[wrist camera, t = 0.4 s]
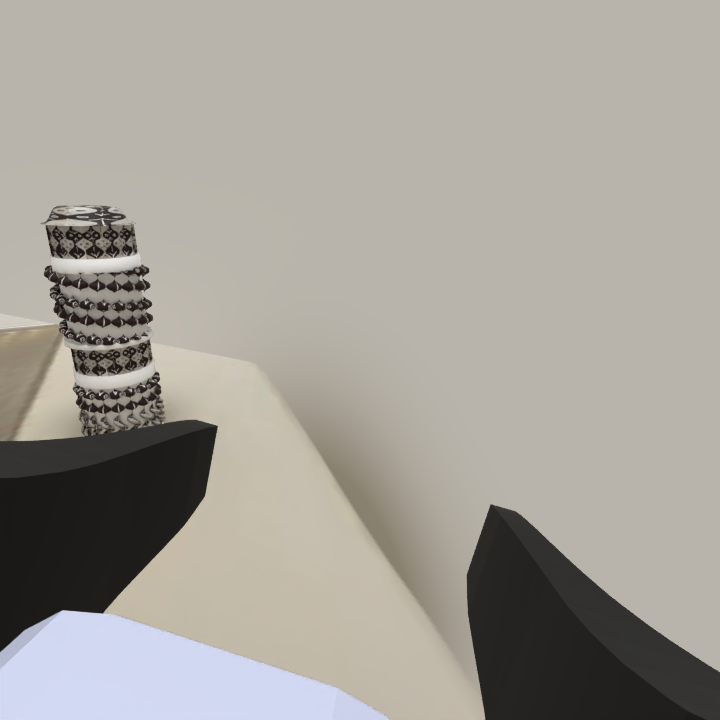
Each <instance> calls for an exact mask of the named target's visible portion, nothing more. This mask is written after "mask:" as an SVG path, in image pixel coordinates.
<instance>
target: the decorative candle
mask: <svg viewBox="0 0 720 720" xmlns="http://www.w3.org/2000/svg"><path fill="white" fill-rule="evenodd" d="M41 224H44V225H46V230H47V235H48V240H49V245H50V250H51V255H50V261H51V266H47V267H46V268H45V272H44V276H45V277H47V278H48V280H50V281H51V282H54V283H56V285H55V286H54V287H52V288H51V289H50V291H51V293H50V296H51V298H53V299H55V301H56V303H55V307H54V309H53V310H54V312H55V313H57V315H58V316H59V317H60V318H63V319H64V320H63V321H62V322H60V328H59V331H60V332H61V333H62V334H64V336H65V337H64V344H65V346H67V347H69V348H71V352H72V357H73V362H74V367H73V370H74V376H75V381H76V382H75V386H74V387H73V391H74V392H76V395H78V399H77V400H76V404H77V405H79V408H80V409H82V410H81V412H80V414H79V420H80V421H81V422H82V424H83V426H82V433H83V434H84V435H85V436H92V435H98V434H105V433H112V432H119V431H125V430H131V429H137V428H142V427H148V426H153V425H159V424H164V423H165V422H164V420H165V416H163V415H164V414H165V412H164V411H163V410H162V409H163V408H164V405H163V404H162V403H163V399H161V398H160V396H159V395H160V394H161V386H160V385H159V384H158V383H157V382H159V380H160V377H159V373H158V372H156V368H155V361H154V358H153V356H152V352H151V345H150V338H151V337H152V336H153V335H154V334H153V331H152V329H151V328H150V327H148V326H146V323H147V324H148V323H149V322H151V321H152V320H153V316H152V315H151V314H149V313H147V312H146V313H145V311H144V309H145V310H147V309H148V308H149V307H151V306H152V302H151V301H149V300H147V299H146V298H144V299H143V297H142V292H141V291H142V290H144V291H145V290H146V289H148V288H150V284H149V282H147V281H145V280H144V279H143V282H142V281H140V275H142V276H144V275H146V274H148V273H149V268H148V267H145V266H144V265H141V260H140V254H139V253H138V252H137V245H136V238H135V232H134V224H135V223H134V222H131V221H130V220H128V218H127V217H126V215H125V214H124V213H123V212H122V211H121V210H120V209H119V208H117V207H112V206H57V207H55V208H53V210H52V212H51V213H50V216H49V218H48V220H47V221H46V222H44V223H41ZM56 273H57V274H56ZM60 293H61V294H60ZM61 309H62V310H61Z"/></svg>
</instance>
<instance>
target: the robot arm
mask: <svg viewBox="0 0 720 720" xmlns="http://www.w3.org/2000/svg"><path fill="white" fill-rule="evenodd" d="M217 428H218V426H216V425H212V424H209V423H205V422H202V421H198V420H184V421H176V422H170V423H164V424H159V425H153V426H148V427H142V428H137V429H131V430H125V431H119V432H112V433H105V434H98V435H92V436H85V437H76V438H66V439H53V440H39V441H0V720H389V718H388V717H386V716H385V715H383V714H382V713H380V712H379V711H377V710H375V709H374V708H372V707H370V706H369V705H367V704H365V703H363V702H362V701H360V700H358V699H357V698H355V697H353V696H352V695H350V694H348V693H346V692H345V691H343V690H341V689H340V688H338V687H335V686H332V685H329V684H326V683H323V682H320V681H317V680H314V679H311V678H308V677H305V676H302V675H298V674H295V673H292V672H289V671H286V670H283V669H280V668H277V667H274V666H271V665H268V664H265V663H262V662H259V661H256V660H253V659H250V658H247V657H244V656H241V655H238V654H234V653H231V652H228V651H225V650H222V649H219V648H216V647H213V646H210V645H207V644H204V643H201V642H198V641H195V640H192V639H189V638H186V637H183V636H180V635H177V634H174V633H170V632H167V631H164V630H161V629H158V628H155V627H152V626H149V625H146V624H143V623H140V622H137V621H134V620H131V619H128V618H125V617H122V616H119V615H112V614H103V613H104V611H105V610H106V609H107V608H108V607H109V605H110V604H111V603H112V602H113V601H114V600H115V599H116V597H117V596H118V595H119V594H120V593H121V592H122V591H123V590H124V589H125V588H126V587H127V586H128V584H129V583H130V582H131V581H132V580H133V579H134V578H135V577H136V576H137V575H138V574H139V573H140V572H141V571H142V570H143V569H144V568H145V567H146V566H147V565H148V563H149V562H150V561H151V560H152V559H153V558H154V557H155V556H156V555H157V554H158V553H159V552H160V551H161V550H162V549H163V548H164V547H165V546H166V545H167V543H168V542H169V541H170V540H171V539H172V538H173V537H174V536H175V535H176V534H177V533H178V532H179V531H180V529H181V528H182V527H183V526H184V525H185V524H186V522H187V521H188V519H189V518H190V517H191V515H192V514H193V513H194V511H195V510H196V508H197V507H198V505H199V504H200V502H201V501H202V500H203V498H204V497H205V493H206V487H207V482H208V477H209V471H210V466H211V460H212V455H213V449H214V444H215V438H216V433H217ZM467 600H468V616H469V623H470V629H471V635H472V641H473V647H474V653H475V659H476V665H477V671H478V676H479V682H480V688H481V694H482V700H483V706H484V712H485V720H720V672H718V671H717V670H715V669H713V668H712V667H710V666H708V665H707V664H706V663H704V662H702V661H701V660H699V659H698V658H696V657H695V656H693V655H692V654H690V653H689V652H687V651H685V650H684V649H682V648H681V647H679V646H678V645H676V644H675V643H673V642H672V641H670V640H669V639H667V638H666V637H664V636H663V635H662V634H660V633H658V632H657V631H656V630H654V629H653V628H652V627H650V626H649V625H648V624H646V623H645V622H643V621H642V620H641V619H640V618H638V617H637V616H635V615H634V614H633V613H631V612H630V611H629V610H627V609H626V608H625V607H623V606H622V605H621V604H619V603H618V602H617V601H616V600H615V599H613V598H612V597H611V596H609V595H608V594H607V593H606V592H605V591H604V590H602V589H601V588H600V587H599V586H598V585H597V584H595V583H594V582H593V581H592V580H591V579H590V578H588V577H587V576H586V575H585V574H584V573H583V572H582V571H581V570H579V569H578V568H577V567H576V566H575V565H574V564H573V563H572V562H570V560H568V559H567V558H566V557H565V556H564V555H563V554H562V553H561V552H560V551H559V550H558V549H557V548H556V547H555V546H554V545H553V544H551V543H550V542H549V541H548V540H547V539H546V538H545V537H544V536H543V535H542V534H541V533H540V532H539V531H538V530H537V529H536V528H535V527H534V526H532V525H531V524H530V523H529V522H528V521H527V520H526V519H525V518H523V517H522V516H521V515H519V514H518V513H517V512H515V511H512V510H509V509H505V508H501V507H498V506H494V505H490V508H489V511H488V514H487V517H486V520H485V523H484V526H483V529H482V532H481V535H480V537H479V540H478V543H477V546H476V550H475V552H474V555H473V558H472V561H471V564H470V567H469V570H468V573H467Z"/></svg>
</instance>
